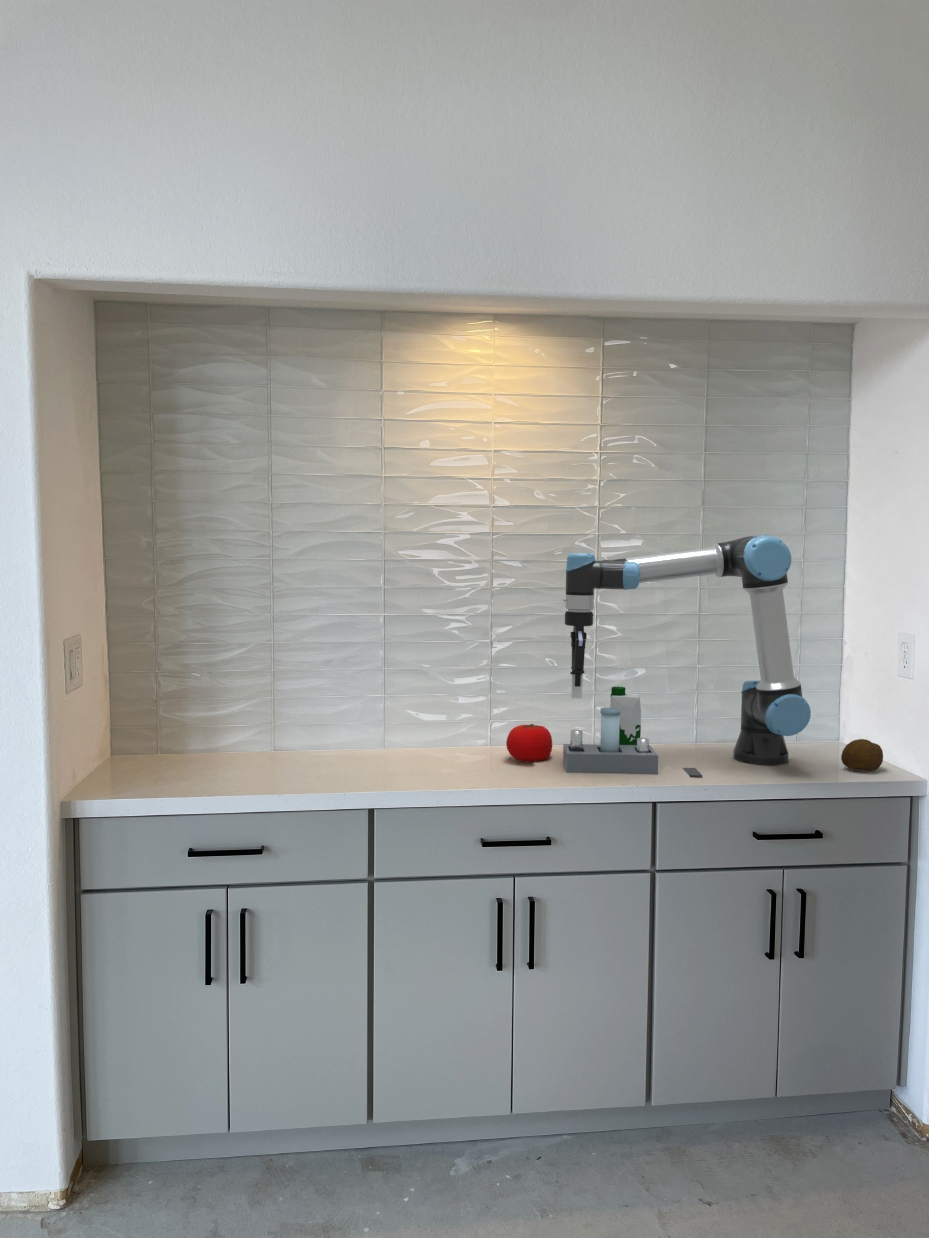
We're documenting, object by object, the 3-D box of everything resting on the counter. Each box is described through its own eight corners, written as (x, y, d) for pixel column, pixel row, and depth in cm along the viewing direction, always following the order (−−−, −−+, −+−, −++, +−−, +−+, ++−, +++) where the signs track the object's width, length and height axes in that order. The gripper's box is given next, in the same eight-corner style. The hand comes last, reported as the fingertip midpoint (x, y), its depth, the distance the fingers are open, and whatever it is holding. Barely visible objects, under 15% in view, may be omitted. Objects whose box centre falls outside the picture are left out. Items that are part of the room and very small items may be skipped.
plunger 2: (647, 762, 245) (648, 737, 245) (649, 765, 242) (650, 740, 242) (635, 762, 245) (636, 737, 245) (637, 765, 242) (638, 740, 242)
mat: (695, 770, 247) (695, 767, 247) (702, 777, 239) (702, 775, 239) (666, 769, 247) (666, 767, 247) (672, 777, 239) (672, 774, 239)
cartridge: (617, 765, 247) (619, 707, 245) (620, 770, 241) (622, 711, 240) (597, 765, 247) (599, 707, 246) (600, 769, 241) (601, 711, 240)
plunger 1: (581, 754, 246) (581, 729, 245) (582, 756, 242) (583, 732, 242) (569, 754, 246) (570, 729, 245) (570, 756, 242) (571, 731, 242)
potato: (892, 774, 245) (894, 742, 244) (849, 774, 244) (851, 742, 243) (877, 766, 253) (878, 736, 252) (835, 766, 252) (837, 736, 252)
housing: (649, 766, 250) (650, 745, 249) (657, 777, 238) (658, 755, 237) (562, 765, 250) (563, 743, 250) (566, 776, 238) (567, 753, 238)
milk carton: (609, 751, 268) (610, 684, 266) (640, 753, 266) (641, 686, 265) (607, 758, 260) (609, 689, 258) (639, 759, 258) (641, 690, 256)
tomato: (544, 768, 247) (545, 730, 246) (500, 764, 251) (500, 727, 250) (557, 757, 260) (558, 721, 259) (515, 753, 265) (516, 718, 264)
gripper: (563, 608, 247) (560, 693, 249) (567, 612, 234) (564, 701, 236) (590, 609, 247) (587, 694, 249) (596, 612, 234) (593, 702, 236)
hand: (576, 697), depth 243 cm, fingers closed
